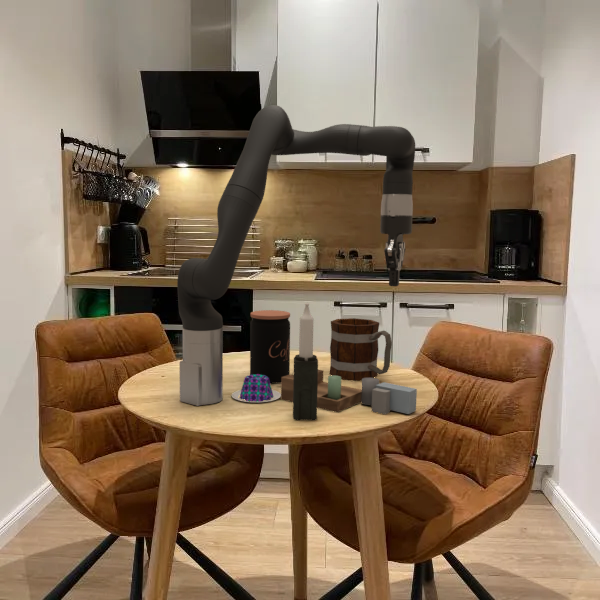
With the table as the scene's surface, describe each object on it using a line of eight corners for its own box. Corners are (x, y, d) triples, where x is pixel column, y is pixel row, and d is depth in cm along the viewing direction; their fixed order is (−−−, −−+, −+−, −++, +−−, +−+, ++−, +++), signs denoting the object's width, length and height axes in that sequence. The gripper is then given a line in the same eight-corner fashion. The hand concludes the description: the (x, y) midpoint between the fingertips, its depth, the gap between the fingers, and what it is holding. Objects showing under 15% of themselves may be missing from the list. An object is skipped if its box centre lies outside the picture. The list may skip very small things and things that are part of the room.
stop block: (385, 414, 132) (386, 392, 131) (371, 411, 134) (372, 389, 133) (389, 412, 133) (390, 390, 132) (375, 409, 135) (376, 387, 135)
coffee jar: (270, 386, 153) (271, 317, 151) (241, 379, 160) (241, 312, 157) (297, 378, 161) (298, 313, 159) (268, 372, 168) (269, 308, 165)
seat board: (337, 412, 132) (338, 388, 132) (281, 399, 142) (281, 377, 141) (364, 400, 142) (365, 378, 141) (310, 388, 151) (310, 367, 151)
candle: (315, 413, 132) (318, 301, 129) (317, 420, 127) (319, 304, 124) (292, 412, 132) (294, 300, 128) (293, 420, 126) (295, 303, 123)
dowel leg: (336, 409, 134) (336, 379, 134) (324, 407, 136) (325, 377, 135) (342, 406, 137) (343, 376, 136) (331, 404, 139) (332, 374, 138)
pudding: (284, 392, 149) (284, 371, 148) (277, 406, 137) (277, 384, 136) (237, 390, 150) (237, 369, 149) (226, 404, 138) (226, 382, 138)
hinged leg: (357, 402, 139) (358, 379, 138) (366, 399, 142) (367, 376, 141) (408, 414, 131) (409, 390, 130) (416, 410, 134) (417, 386, 133)
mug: (319, 373, 167) (320, 321, 165) (352, 366, 176) (353, 316, 174) (371, 388, 152) (373, 331, 151) (405, 380, 161) (407, 325, 160)
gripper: (387, 214, 150) (384, 283, 152) (374, 213, 138) (372, 287, 140) (417, 215, 147) (414, 284, 149) (406, 213, 135) (403, 289, 137)
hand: (393, 285), depth 145 cm, fingers closed
